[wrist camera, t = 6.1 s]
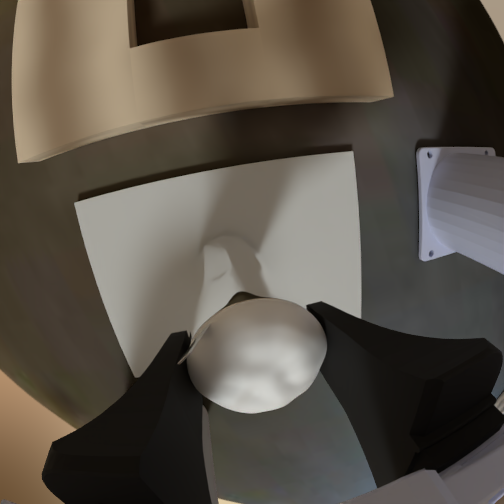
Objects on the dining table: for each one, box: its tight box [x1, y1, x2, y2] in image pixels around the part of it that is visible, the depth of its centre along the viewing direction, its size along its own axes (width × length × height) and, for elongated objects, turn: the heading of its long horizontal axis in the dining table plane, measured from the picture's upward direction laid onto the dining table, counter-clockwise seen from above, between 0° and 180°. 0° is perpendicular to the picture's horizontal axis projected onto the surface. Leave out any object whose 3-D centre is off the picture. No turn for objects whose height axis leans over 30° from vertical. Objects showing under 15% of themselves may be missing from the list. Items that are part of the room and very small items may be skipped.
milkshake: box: [178, 235, 327, 413], centre depth 12 cm, size 4×5×10 cm
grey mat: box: [75, 151, 361, 378], centre depth 17 cm, size 16×12×1 cm
